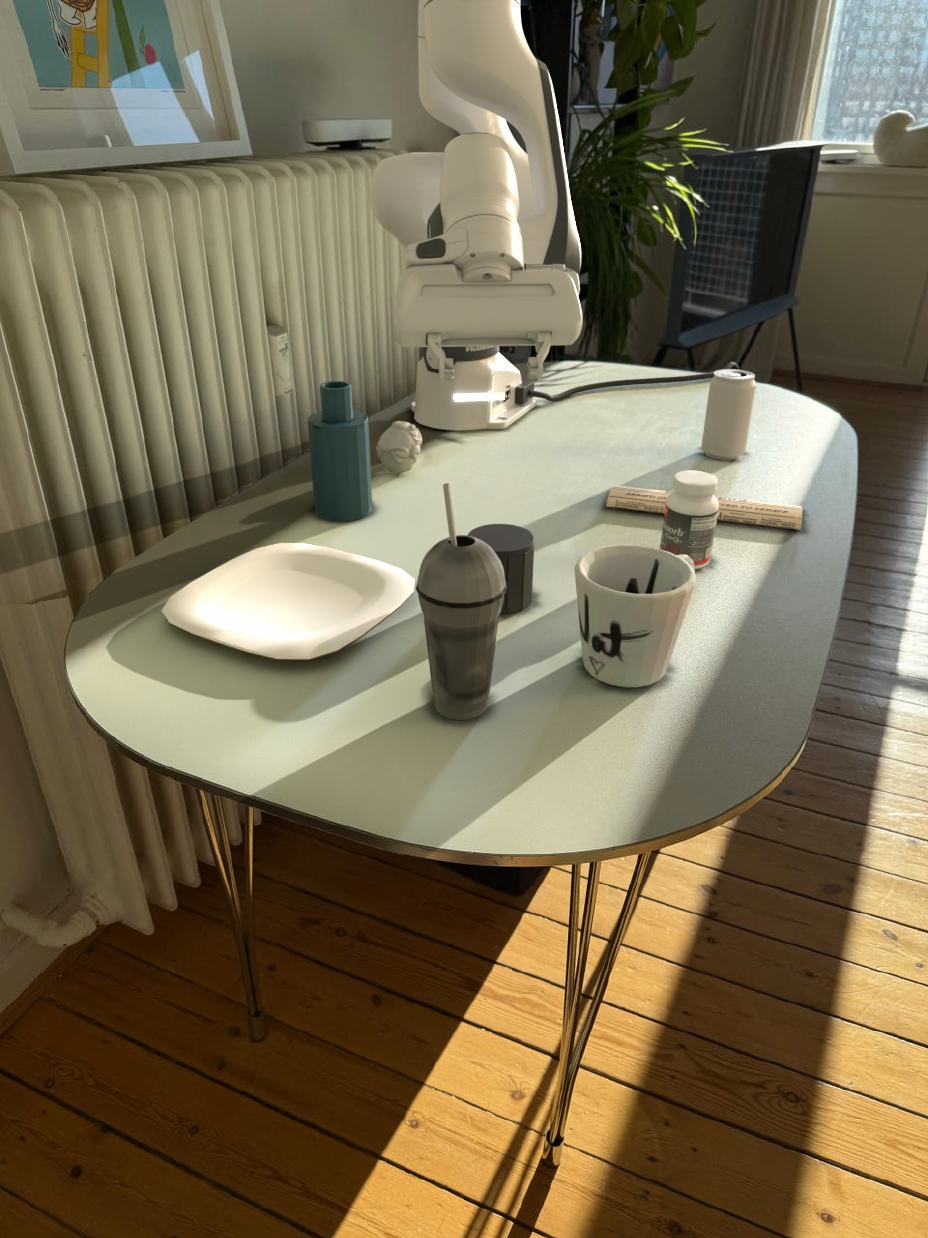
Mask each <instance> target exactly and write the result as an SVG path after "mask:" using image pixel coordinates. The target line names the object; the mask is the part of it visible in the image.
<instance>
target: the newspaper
mask: <svg viewBox="0 0 928 1238" xmlns="http://www.w3.org/2000/svg"><path fill="white" fill-rule="evenodd" d="M672 492H673V491H667V490H660V489H659V490H658V489H651V488H650V489H649V488H643V487H642V488H641V487H634V486H625V485H615V484H614V485H612V486H611V487H610V490H609V492H608V495H607V498H606V504H605V505H606V508H613V509H621V510H630V511H640V512H647V513H656V514H664V513H665V506H666V500H667V497H668V496H669V495H670V494H671V493H672ZM715 497H716V499H717V500H718V503H719V508H718V515H717V521H721V522H729V523H739V524H747V525H756V526H763V527H773V528H780V529H790V530H798V531H801V529H802V524H803V507H802V506H801V505H791V504H783V503H774V502H764V501H756V500H748V499H747V500H746V499H738V498H730V497H722V496H721V497H720V496H715Z"/></svg>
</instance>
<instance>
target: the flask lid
mask: <svg viewBox="0 0 928 1238" xmlns="http://www.w3.org/2000/svg"><path fill="white" fill-rule="evenodd" d="M467 536H472V537H475V538H478V539H480V540H482V541H483V542H485V543H486V544H488V545H489V546H490V547H491V548H492V549H493V550H494V552H495V553H496V555H497V556H498V558H499V559H500V561H501V563H502V566H503V570H504V576H505V580H506V584H507V591H506V592H505V594H504V601H503V605H502V609H501V612H500V614H499V615H506V614H512V613H517V612H521V611H524V610H525V609H526V608H528V607H529V606H531V604H532V601H533V600H532V599H533V581H534V580H533V579H534V561H535V560H534V559H535V535H534V534H533V533H532V531H530V530H529V529H527V528H525V527H522V526H519V525H515V524H511V523H490V524H489V523H488V524H483V525H479V526H478V527H475V528H472V529H471V530H470V531H469V532H468V533H467Z"/></svg>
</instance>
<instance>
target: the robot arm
mask: <svg viewBox="0 0 928 1238" xmlns="http://www.w3.org/2000/svg"><path fill="white" fill-rule="evenodd" d="M417 12H418V13H417V16H418V17H417V36H418V37H417V59H418V63H417V64H418V65H417V66H418V67H417V69H418V97H419V100H420V102H421V105H422V107H423V108H424V110H425V111H426V113H428V115H430V116H431V117H432V118H434V119H436V121H439V122H440V123H442V124H443V125H445V126H446V127H449V128H451V129H453V131H456V132H458V134H459V135H458V136H456V137H454V138H453V139H451V140H450V141H449V142H448V143H447V144H446V146H445V147H444V151H442V152H439V151H437V152H435V151H434V152H433V151H429V152H428V151H424V152H423V151H413V152H407V153H402V154H398V155H393V156H389V157H386V158H382V160H380V162H379V163H378V164H377V166H376V167H375V169H374V171H373V173H372V176H371V178H370V181H369V188H368V197H369V204H370V207H371V210H372V213H373V215H374V217H375V219H376V220H377V222H378V223H379V225H380V226H381V227H382V228H384V230H385V231H387V232H388V233H389V234H391V235H392V236H393V237H394V238H395V239H397V241H398V242H399V243H400V244H401V245H402V247H403V248H404V249H405V250H404V251H405V253H404V258H403V271H402V273H401V274H400V276H399V278H398V280H397V285H396V290H395V297H394V309H393V334H394V335H393V336H394V337H393V338H394V340H395V341H396V343H397V344H398V345H399V346H401V347H402V348H419V353H420V354H421V355H422V358H421V359H420V360H419V361H418V363H417V370H416V381H415V382H416V383H415V397H414V401H412V402H411V404H410V405H411V406H410V410H411V412H413V413H414V415H413V418H414V419H413V420H414V421H415V422H417V423H418V424H420V425H422V426H425V427H428V428H432V429H438V430H443V431H444V430H445V431H475V430H488V429H489V430H502V429H507V428H508V427H509V426H511V425H512V424H513V423H515V422H516V421H517V420H519V419H520V418H521V417H523V416H524V415H525V414H527V413H528V412H530V411H531V410H532V409H533V408H535V407H536V400H535V399H534V398H540V399H544V400H546V401H548V402H555V401H556V402H557V401H560V400H563V399H565V398H567V397H570V396H572V395H574V394H575V395H576V394H578V393H583V392H587V391H593V390H598V389H605V388H613V387H623V386H636V385H652V384H653V385H654V384H666V383H667V384H669V383H682V382H692V381H701V380H707V379H712V378H713V377H714V372H715V371H712V372H711V371H710V372H706V373H697V374H689V375H677V376H663V377H660V376H659V377H647V378H646V377H645V378H631V379H619V380H617V379H616V380H610V381H609V380H608V381H602V382H595V383H589V384H584V385H580V386H575V387H572V388H570V389H567V390H565V391H563V392H560V393H557V394H550V393H547V392H543V391H538V390H535V381H531V380H542V378H543V374H544V361H545V360H546V358H547V356H548V354H549V352H550V348H551V346H572V345H573V344H574V343H575V342H576V341H577V339H578V338H579V337H580V335H581V331H582V328H583V322H584V320H583V319H584V318H583V311H582V307H581V302H580V299H579V295H580V293H581V287H580V278H579V277H580V272H581V267H582V247H581V242H580V237H579V233H578V229H577V225H576V220H575V215H574V209H573V205H572V200H571V193H570V186H569V178H568V173H567V172H568V171H567V165H566V157H565V152H564V145H563V137H562V130H561V124H560V117H559V113H558V108H557V106H558V105H557V101H556V96H555V90H554V86H553V81H552V78H551V75H550V71H549V69H548V67H547V65H546V63H545V62H543V61H541V60H540V59H538V58H537V57H535V55H534V54H533V52H532V50H531V49H530V47H529V44H528V42H527V39H526V37H525V34H524V30H523V25H522V17H521V0H418V11H417ZM507 122H508V123H509V124H510V125H512V126H513V127H514V128H515V129H516V131H518V133H519V134H520V136H521V137H522V139H523V142H524V145H525V149H526V151H525V150H524V149H523V148H522V147H521V146H520V144H519V143H518V142H517V141H516V139H515V137H514V135H513V134H512V132H511V130H510V128H509V126H508V123H507ZM527 346H529V347H531V346H534V348H535V353H537V354H536V355H535V356H529V357H527V358H528V359H527V363H526V372H527V375H526V378H527V380H526V379H525V380H523V381H522V374H521V372H520V370H519V369H518V368H517V367H515V366H514V364H512V363H511V362H510V361H509V360H508V359H507V358H506V357H505V356H504V355H502V354H501V353H500V347H527ZM722 369H738V370H741V369H740V367H739V365H738V364H737V363H736V362H734V361H731V362H729V363H728V364H726V365H725V366H724V367H723V368H722Z"/></svg>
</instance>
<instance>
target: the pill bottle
mask: <svg viewBox="0 0 928 1238" xmlns="http://www.w3.org/2000/svg"><path fill="white" fill-rule="evenodd" d="M718 482H719V480H718V477H717V476H715V475H714V474H712V473H709V472H705V471H701V470H689V469H688V470H680V471H678V472H676V473H675V474H674V475H673V480H672V488H673V489H674V490H673V491H671V492H672V493H671V494H670V495H669V496H668V497H667V500H666V506H665V513H664V515H663V522H662V530H661V537H660V544H659V549H660V550H663V551H667V552H670V553H672V554H674V555H688V556H689V557H690V558H691V559H692V560H693V563H694V569H695V570H698V569H701V568H704V567H706V566H707V565H708V564H709V563H710V561H711V558H712V550H713V545H714V538H715V533H716V528H717V521H718V520H717V515H718V508H719V503H718V500H717V499H716V497H717V496H715V495H714V494H715V493H716V492H717V490H718V484H719V483H718Z"/></svg>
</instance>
